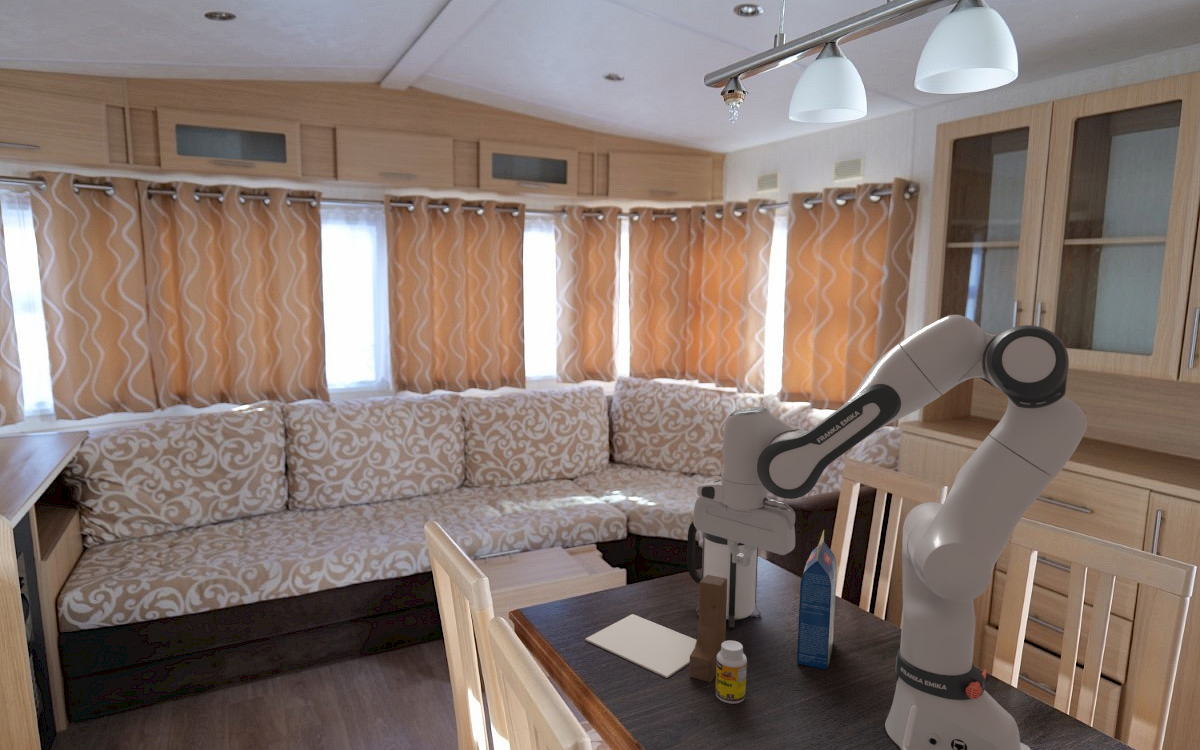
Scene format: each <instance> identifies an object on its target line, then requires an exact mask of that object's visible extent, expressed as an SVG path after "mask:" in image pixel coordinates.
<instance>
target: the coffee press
mask: <svg viewBox="0 0 1200 750" xmlns="http://www.w3.org/2000/svg"><path fill="white" fill-rule="evenodd" d="M697 531H698V530H697V529H696V528H695V526H694V523H693V521H692V522H691V523H690V525H689V526H688V530H687V542H686V543H687V545H686V546H687V547H686V548H687V549H686V550H687V551H686V552H687V553H686V564H687V570H688V571H687V572H688V573H689V574H688V575H689V576H690V578H691V579H692V580H693V581H694V582H695V583H697V584H698V585H700V581H701V580H702V579H703V578H704V577H705V576H706V575H712V576H717V577H721V578H726V579H727V606H726V620H727V628H728V631H729V630H730V631H732V630H733V631H734V630H736V624H735V623H736V620H741V619H742V620H743V619H745V618H748V617H749V616H753V617H755V618H756V619H760V617H761V616H762V615H761V611H760V610H759V608H758V607H757V587H758V583H757V582H758V580H757V579H758V559H759V557H758V556H759V555H758V554H759V548H756V550H755V551H754V553H753V554H752V555H751V556H750V565H749V566H747V567H745V566H742V565H739V564H736V563H733V562H732V553H731V551H730V549H729V547H728V545H727V542H728V539H725V538H722V537H719V536H715V535H712V534H708V533H705V532H702V562H701V563H702V564H701V575H700V574H699V572H698V571H697V569H696V537H697V536H696V535H697ZM737 545H738V548H739V550H740V553H743V554H745V553H746V551H747V550H745V549H744V545H745V544H742V543H738V544H737ZM755 608H756V610H757V612H758V614H755V613H754V611H755ZM695 612H696V613H695V614H696V615H697V616H698V617H699V605H698V606H697V607H696V608H695Z"/></svg>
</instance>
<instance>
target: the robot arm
mask: <svg viewBox="0 0 1200 750" xmlns="http://www.w3.org/2000/svg"><path fill="white" fill-rule="evenodd" d="M1069 366H1070V359H1069V353H1068V350H1067V348H1066V345H1065V343H1064V342H1063V340H1062V339H1061V338H1060V337H1059V336H1058V335H1057V334H1056V333H1054V332H1053V331H1052V330H1049V329H1047V328H1045V327H1043V326H1039V325H1032V324H1031V325H1030V324H1028V325H1026V324H1025V325H1018V326H1014V327H1011V328H1009V329H1006V330H1005V331H1003V332H1001V333H1000V332H999V333H997V334H990V333H988V332H986V331H985V330H983V328H981V326H979V325H978V324H977V322H976V321H974V320H972V319H971V318H968V317H966V316H963V315H961V314H949V315H947V316H944V317H941V318H940V319H938V320H935V321H934V322H932V323H930V324H928V325H926V326H924V327H922V328H920V329H919V330H917V331H915V332H913V333H912V334H911V335H909V336H907V337H906V338H905V339H903V340H902V341H900V342H899V343H897V344H896V345H894V346H893V347H892V348H890V349H889V350H887V352H886V353H884V354H883V355H882V356H881V357H880V358H879V359H878V360H877V361H876V362H875V363H874V364H873V365H872V366H871V368H869V370H867V372H866V373H865V375H864V377H863V379H862V380H861V382H860V384H859V385H858V387H857V388H856V390H855V391H854V392H853V394H852V395H851V397H850V398H849V399H848V400H847V401H846V402H845V403H844V404H842V406H840V407H839V408H838V409H836V410H834V411H833V412H832V413H831V414H829V415H828V416H826V417H825V418H823V420H821V421H820V422H818V423H817V424H816V425H815V426H813V427H812V428H810V429H809V430H808V429H806V428H802V427H798V426H796V425H792V424H791V423H788V422H786V421H784V420H782V419H781V418H780V417H778V416H776V415H775V414H773V413H772V412H771V411H770V410H769V409H768V408H765V407H759V406H753V407H743V408H740V409H739V408H738V409H737V410H735V411H733V412H731V413H730V414H729V415H728V416H727V418H726V420H725V423H724V429H723V435H722V450H721V452H722V453H721V454H722V458H723V468H722V471H721V474H720V477H721V478H720V479H715V480H711V481H707V482H706V483H703V484H701V485H698V486H697V491H696V493H697V496H698V497H697V499H696V500H695V503H694V508H693V509H694V510H693V518H692V519H693V521H692V522H693V523H694V526H695V528H696V529H697V531H698V532H702V533H703V532H705V533H708V534H712V535H715V536H719V537H722V538H725V539H728V542H727V545H728V547H729V549H730V551H731V553H732V562H733V563H736V564H739V565H742V566H745V567H747V566H749V565H750V556H751V555H752V554H753V553H754V551H755V550H756V548H758V550H759V549H760V550H764V551H766V552H770V553H774V554H776V555H780V556H785V555H787V554H790V552H792V551H793V550H794V549H795V547H796V529H795V523H796V512H795V511H794V509H793V508H792V507H791V506H790V505H789V504H788V503H786V502H783V501H781V502H780V501H778V500H775V499H770V498H769V493H771V494H772V495H774V496H776V497H779V498H780V499H786V500H793V499H800V498H801V497H804V496H806V495H808V494H809V492H811V491H812V490H813V489H814V487H815V486H816V484H817V482H818V481H819V479H820V477H821V475H822V474H823V472H824V470H825V469H826V468H827V467H828V466H830V465H831V464H832V463H833V462H834V461H836V460H837V459H838V458H839V457H841V456H843V455H844V454H845V453H846V452H848V451H849V450H851V449H852V448H853V447H855V446H856V445H858V444H859V443H861V441H863V440H865V439H866V438H867V437H869V436H871V435H872V434H873V433H875V432H876V431H878V430H880V429H882V428H883V427H885V426H888V425H889V424H892V423H894V422H896V421H897V420H900V419H902V418H904V417H906V416H909V415H910V414H912V413H914V412H916V411H919V410H920V409H922V408H924V407H926V406H927V405H930V404H931V403H932V402H934V401H935V400H937V399H938V398H940V397H942V395H945V394H946V393H948V392H949V391H950V390H952V389H954V388H955V387H957V386H958V385H959V384H961V383H964V382H965V381H968V380H970V379H974V378H980V379H981V380H982V381H984V382H986V383H987V384H989V385H990V386H992V387H993V388H994V389H997V390H998V391H999V392H1001V393H1003V394H1005V395H1006V397H1007V407H1006V410H1005V413H1004V414H1003V416H1002V418H1001V419H1000V420H999V422H998V423H996V425H995V427H994V428H992V430H991V431H990V432H989V434H988V435H987V436H986V437H985V438H984V439H983V441H982V442H981V444H979V446H978V447H976V449H975V450H974V452H973V453H972V454H971V456H970V457H968V459H967V461H966V462H965V463H964V464H963V465H962V467H961V468H960V469H959V471H958V472H957V474H956V476H955V479H954V482H953V484H952V487H951V489H950V490H949V493H948V494H947V496H946V497H945V500H944V502H943V503H939V502H933V501H931V502H929V501H927V502H924V503H923V502H922V503H920V504H918V505H916V506H915V507H913V508H912V509H911V510H910V511H909V512H908V513H907V515H906V516H905V520H904V523H903V527H902V546H901V547H902V549H901V551H902V554H901V556H902V557H901V559H902V560H901V564H902V565H901V566H902V567H901V570H902V572H901V573H902V574H901V575H902V577H901V578H902V579H901V580H902V581H901V582H902V616H901V633H900V634H901V635H900V646H899V648H898V649H897V652H896V653H897V654H896V658H895V671H894V672H895V681H896V685H895V686H896V687H895V691H894V696H893V699H892V705H891V707H890V709H889V712H888V714H887V717H886V720H885V723H884V727H885V731H886V733H887V735H888V736H889V738H890V739H891V740H892V742H894V743H895V744H896V745H897V746H898V747H899V749H900V750H1032V749H1031V748H1030V746H1028V745H1026V744H1025V743H1023V742H1021V736H1020V731H1019V727H1018V724H1017V722H1016V719H1015V718H1014V717H1013V716H1012V714H1010V713H1009V712H1008V711H1007V710H1006V709H1005V708H1004V707H1002V705H1000V704H999V702H997V701H996V699H994V697H992V696H991V695H990V694H989V692H987V691H986V690H985V686H986V685H985V683H986V677H987V670H986V669H983V671H982V672H980V671H979V669H978V668H977V667H976V665H975V664H974V663H973V659H974V649H975V648H974V646H975V632H976V614H975V607H974V600H975V599H976V598H978V597H980V596H981V595H982V594H984V592H985V591H986V590H987V589H988V586H989V585H990V582H991V578H992V574H993V570H994V567H995V565H996V563H997V561H998V560H999V558H1000V556H1001V554H1002V553H1003V550H1004V549H1005V547H1006V545H1007V543H1008V542H1009V539H1010V538H1011V536H1012V534H1013V533H1014V530H1015V529H1016V527H1017V525H1018V524H1019V522H1020V521H1021V519H1022V518H1023V516H1024V515H1025V514H1026V512H1028V510H1029V509H1030V507H1032V505H1033V504H1034V502H1036V500H1037V499H1038V498H1039V497H1040V496H1041V494H1043V492H1044V491H1045V490H1046V489H1047V487H1048V486H1049V485H1050V484H1051V483H1052V482H1053V481H1054V479H1055V478H1056V477H1057V476H1058V475H1059V473H1060V472H1061V471H1062V470H1063V468H1064V467H1065V466H1066V464H1067V463H1068V462H1069V460H1070V459H1071V458H1072V456H1073V454H1074V453H1075V451H1076V450H1077V448H1078V446H1079V444H1080V442H1081V441H1082V439H1083V437H1084V435H1085V433H1086V432H1087V428H1088V420H1087V417H1086V414H1085V412H1083V409H1081V407H1080V406H1079V405H1078V404H1076V402H1074V401H1073V400H1072V399H1070V398H1068V397H1067V396H1065V395H1066V391H1067V383H1068V382H1067V380H1068V372H1069ZM738 543H742V544H745V545H744V549H745V550H747V551H746V553H745V554H743V553H740V550H739V548H738V545H737V544H738Z"/></svg>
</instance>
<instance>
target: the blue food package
mask: <svg viewBox="0 0 1200 750" xmlns="http://www.w3.org/2000/svg"><path fill="white" fill-rule="evenodd" d="M824 539H825V529H823V531H822V533H821V537H820V539H819V542H818V544H817V546H816V547H815V548H814V549H812V551H811V553H810V555H809V557H808V559H807V560H806V564H805V566H804V569H803V573H802V576H801V580H800V587H799V606H798V607H799V609H798V630H797V631H798V632H797V651H796V653H797V654H796V655H797V656H796V663H797V664H800V665H804V666H808V667H813V668H818V669H824V670H827V669H828V666H829V665H830V659H831V656H832V651H833V643H834V631H835V629H834V627H835V613H836V612H835V608H836V592H837V591H836V590H837V569H838V568H837V566H838V565H837V559H836V557H835V554H834V553H833V551H832V550H831V549H830V548H829V546H828V545H827V544H826V542H825V540H824Z"/></svg>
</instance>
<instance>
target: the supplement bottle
mask: <svg viewBox="0 0 1200 750" xmlns="http://www.w3.org/2000/svg"><path fill="white" fill-rule="evenodd" d="M747 666H748V659H747V656H746V654H745V653H744V645H743V644H742V643H741V642H739V641H736V640H731V639H730V640H725V641H724V642H723V643H722V644H721V651H719V652H718V654H717V659H716V675H715V696H716V697H717V698H718V700H720V701H721V702H722V703H723V702H724V703H727V704H733V705H734V704H739V703H742V702H743V701H744V700H745V698H746V693H747V692H746V690H747V688H746V687H747Z"/></svg>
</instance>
